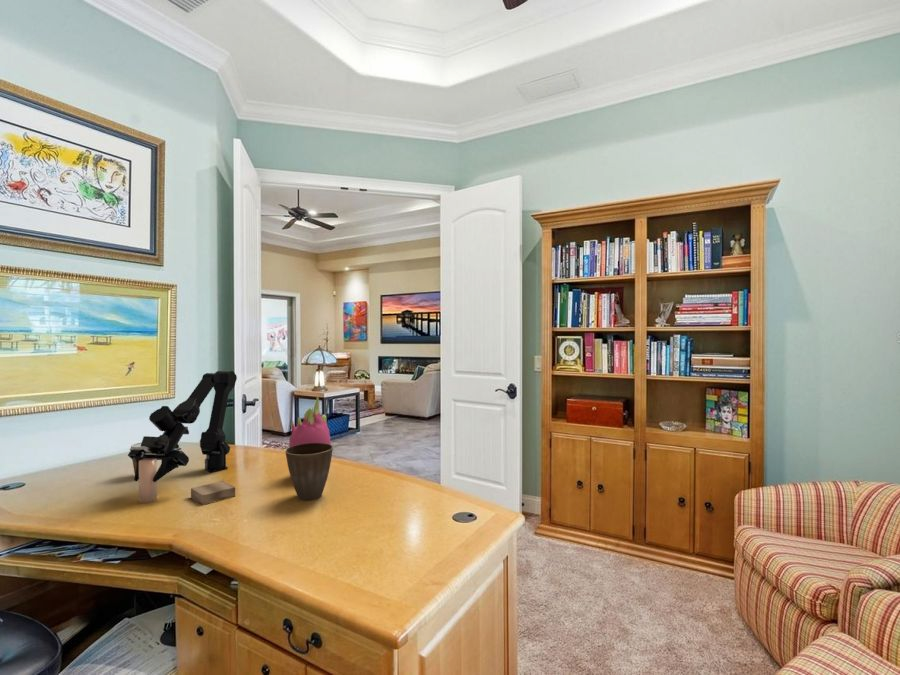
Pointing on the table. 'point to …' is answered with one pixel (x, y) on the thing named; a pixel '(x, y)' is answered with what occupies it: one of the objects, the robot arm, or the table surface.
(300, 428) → the pink dragon fruit
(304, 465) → the plant pot
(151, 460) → the pillar
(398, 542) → the table surface
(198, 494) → the base
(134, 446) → the disposable coffee cup
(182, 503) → the table surface
